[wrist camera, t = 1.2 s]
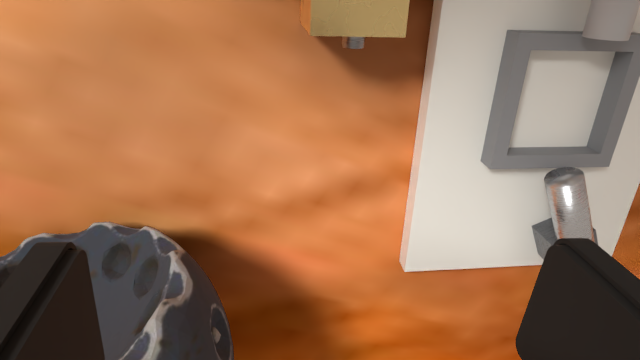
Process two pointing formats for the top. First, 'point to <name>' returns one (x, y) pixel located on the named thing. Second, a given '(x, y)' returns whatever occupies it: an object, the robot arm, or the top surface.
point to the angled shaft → (564, 209)
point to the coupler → (355, 19)
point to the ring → (145, 294)
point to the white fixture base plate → (521, 126)
